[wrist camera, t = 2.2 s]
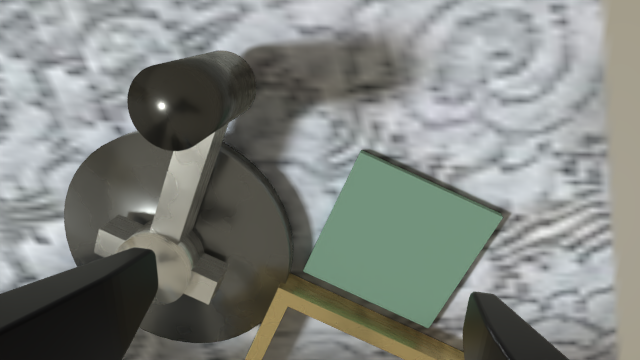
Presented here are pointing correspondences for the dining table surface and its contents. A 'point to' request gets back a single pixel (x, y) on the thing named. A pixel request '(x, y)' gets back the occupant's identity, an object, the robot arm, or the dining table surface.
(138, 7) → the dining table surface
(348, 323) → the gold square frame
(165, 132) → the handwheel crank
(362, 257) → the felt pad
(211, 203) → the crank base
